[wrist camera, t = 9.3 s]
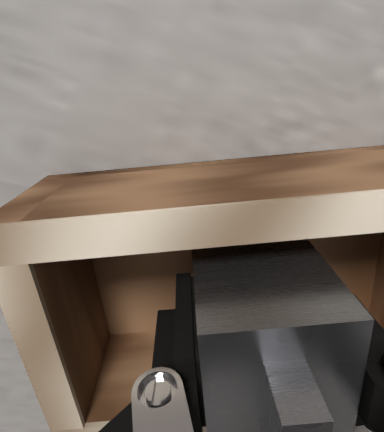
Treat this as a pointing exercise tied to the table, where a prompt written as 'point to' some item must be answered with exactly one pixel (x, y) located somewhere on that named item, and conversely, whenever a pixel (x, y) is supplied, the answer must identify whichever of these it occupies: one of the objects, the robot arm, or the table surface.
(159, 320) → the robot arm
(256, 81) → the table surface
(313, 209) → the open wooden box
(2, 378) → the table surface
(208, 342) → the grey ridged block
